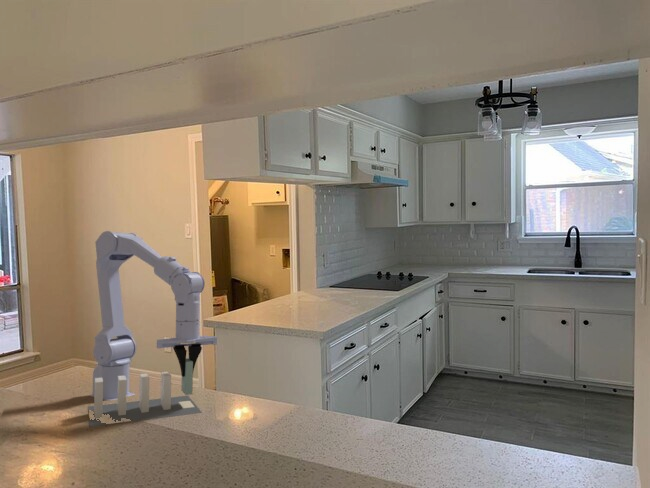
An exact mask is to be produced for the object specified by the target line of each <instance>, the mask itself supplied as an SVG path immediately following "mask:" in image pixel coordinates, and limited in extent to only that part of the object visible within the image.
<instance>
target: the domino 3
mask: <svg viewBox="0 0 650 488" xmlns="http://www.w3.org/2000/svg"><path fill="white" fill-rule="evenodd" d="M149 400H150V377H149V375H148V373H139V400H138V401H139V408H140V410H141V413H144V412H149Z"/></svg>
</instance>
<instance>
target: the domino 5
mask: <svg viewBox="0 0 650 488" xmlns="http://www.w3.org/2000/svg"><path fill="white" fill-rule="evenodd" d="M193 376H194V371H193V361H191V360H190V359H189V357H186V362H185V376H184V377H183V376H182V375H181V388H180V390H181V392H182V393H184V396H191V395H193V383H194V382H193V381H194V380H193Z"/></svg>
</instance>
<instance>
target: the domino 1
mask: <svg viewBox="0 0 650 488" xmlns="http://www.w3.org/2000/svg"><path fill="white" fill-rule="evenodd" d="M93 398H94V399H93V400H94V401H93V402H94V403H93V406H94V417H95V418H100V417H102V411H103V405H104V399H103V379H102V378H95V393H94V397H93Z"/></svg>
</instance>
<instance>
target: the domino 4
mask: <svg viewBox="0 0 650 488" xmlns="http://www.w3.org/2000/svg"><path fill="white" fill-rule="evenodd" d="M160 374H161V375H160V378H161V379H160V399H161V406H162V408H163V410H168V409H171V397H172V374H170V373H169V371H162V372H161V373H160Z"/></svg>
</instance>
